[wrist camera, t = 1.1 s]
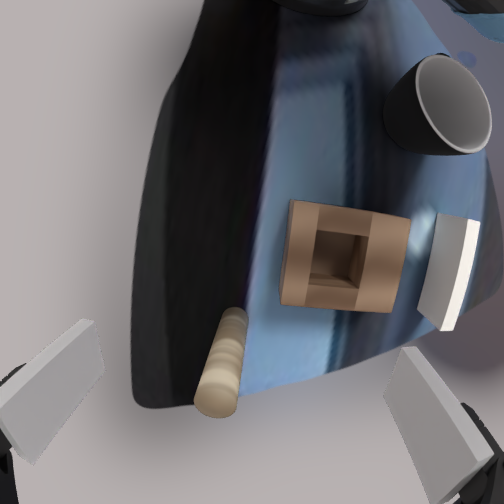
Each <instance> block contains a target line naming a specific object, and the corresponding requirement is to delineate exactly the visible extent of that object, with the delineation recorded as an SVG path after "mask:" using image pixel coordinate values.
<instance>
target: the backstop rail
mask: <svg viewBox="0 0 504 504" xmlns="http://www.w3.org/2000/svg"><path fill="white" fill-rule="evenodd" d="M479 226H480V222H477V221H474V220H470V219H466V218H461V217H457V216H452V215H447V214H442V213H437V220H436V227H435V233H434V238H433V244H432V249H431V254H430V259H429V264H428V268H427V272H426V277H425V281H424V285H423V289H422V292H421V296H420V300H419V303H418V307H417V310H418V311H419V312H420V313H421V314H422V315H423V316H425V317H426V318H427V319H428V320H429V321H430V322H431V323H432V324H433V325H434V326H435V327H437V328H438V329H439V330H440V331H453V328H454V326H455V323H456V320H457V317H458V314H459V311H460V308H461V305H462V301H463V298H464V294H465V291H466V287H467V284H468V280H469V276H470V272H471V268H472V263H473V259H474V254H475V249H476V244H477V238H478V232H479Z"/></svg>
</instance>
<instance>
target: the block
mask: <svg viewBox="0 0 504 504" xmlns="http://www.w3.org/2000/svg"><path fill="white" fill-rule="evenodd" d="M410 225H411V219H407V218H403V217H399V216H395V215H390V214H385V213H379V212H373V211H367V210H361V209H355V208H349V207H343V206H336V205H329V204H322V203H315V202H308V201H301V200H293V199H290V204H289V213H288V221H287V229H286V237H285V245H284V252H283V260H282V267H281V275H280V282H279V295H280V304H281V305H290V306H301V307H312V308H324V309H337V310H351V311H367V312H385V313H391V312H392V308H393V305H394V301H395V297H396V293H397V289H398V285H399V281H400V277H401V273H402V268H403V263H404V259H405V254H406V248H407V243H408V238H409V232H410Z"/></svg>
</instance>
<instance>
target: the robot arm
mask: <svg viewBox="0 0 504 504" xmlns="http://www.w3.org/2000/svg"><path fill="white" fill-rule="evenodd" d="M272 1H274V2H276V3H277V4H279V5H282V6H284V7H286V8H289V9H292V10H295V11H298V12H302V13H307V14H312V15H320V16H340V15H346V14H350V13H353V12H356V11H358V10H360V9H361V8H363V7H364V6H365V5H366V3H367V2H368V0H272ZM442 1H443V2H445V3H446V4H447V5H448V6H449V7H450V8H451V10H452V11H453V12H454V13H455V14H457V15H459V16H461V17H462V18H464V19H465V20H466V21H467V22H468V23H470V25H471V26H473V27H474V28H475V29H476V30H477V31H478V32H479V33H480V34H481V35H483V36H484V37H486V38H488V39H489V40H492V41H495V42H499V43H504V0H442ZM105 371H106V370H105V366H104V361H103V357H102V353H101V348H100V343H99V339H98V333H97V328H96V323H95V321H92V320H88V319H84V318H82V319H80V320H79V321H78V322H77V323H75V324H74V325H73V326H72V327H70V328H69V329H68V330H67V331H65V332H64V333H63V334H62V335H60V336H59V337H58V338H57V339H55V340H54V341H53V342H52V343H51V344H50V345H48V346H47V347H46V348H45V349H43V350H42V351H41V352H40V353H39V354H37V355H36V356H35V357H34V358H33V359H32V360H30V361H29V362H28V363H25V364H23V365H21V366H19V367H16V368H15V369H14V370H13V371H11V372H10V373H9V374H8V376H6V377H4V378H3V379H2V382H1V381H0V504H19V502H18V497H17V491H16V485H15V478H14V470H13V459H12V454H11V452H10V450H9V449H10V448H11V447H13V448H14V449H15V451H16V452H17V453H18V455H19V456H20V457H22V458H23V459H24V460H26V461H27V462H29V463H30V464H32V465H34V464H35V462H36V461H37V459H38V458H39V457H40V456H41V454H42V453H43V451H44V450H45V449H46V447H47V446H48V445H49V443H50V442H51V441H52V439H53V438H54V437H55V435H56V434H57V433H58V431H59V430H60V428H61V427H62V426H63V425H64V423H65V422H66V421H67V419H68V418H69V417H70V415H71V414H72V413H73V412H74V410H75V409H76V408H77V406H78V405H79V404H80V403H81V401H82V400H83V399H84V397H85V396H86V395H87V393H88V392H89V391H90V390H91V389H92V387H93V386H94V385H95V384H96V382H97V381H98V380H99V379H100V377H101V376H102V375H103V374H104V372H105ZM383 396H384V399H385V401H386V403H387V405H388V407H389V408H390V411H391V413H392V415H393V418H394V420H395V422H396V424H397V426H398V428H399V431H400V433H401V435H402V437H403V439H404V442H405V444H406V446H407V448H408V451H409V453H410V455H411V458H412V460H413V463H414V465H415V467H416V470H417V472H418V475H419V477H420V479H421V482H422V485H423V487H424V490H425V492H426V495H427V497H428V500H429V503H430V504H443V503H445V502H448V501H449V500H450V499H451V498H453V497H454V496H455V495H456V494H457V493H459V495H460V498H459V499H458V500H457V501H455V502H454V503H453V504H504V452H503V451H502V450H501V448H500V447H499V445H498V444H497V442H496V441H495V439H494V438H493V436H492V435H491V434H490V432H489V431H488V429H487V428H486V427H484V424H483V422H482V421H481V420H479V417H478V415H477V414H476V413H475V411H474V410H473V409H472V408H471V407H469V406H468V405H466V404H465V403H459V401H458V400H457V399H456V397H455V396H454V395H453V393H452V392H451V391H450V389H449V388H448V387H447V385H446V384H445V383H444V381H443V380H442V379H441V378H440V376H439V375H438V374H437V372H436V371H435V370H434V369H433V367H432V366H431V365H430V364H429V363H428V361H427V360H426V358H425V357H424V356H423V355H422V354H421V352H420V351H419V350H418V349H417V347H415V346H414V347H401V351H400V353H399V356H398V359H397V362H396V364H395V367H394V370H393V373H392V375H391V378H390V380H389V383H388V385H387V388H386V390H385V393H384V395H383Z"/></svg>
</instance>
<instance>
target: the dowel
mask: <svg viewBox="0 0 504 504" xmlns="http://www.w3.org/2000/svg"><path fill="white" fill-rule="evenodd" d="M248 320H249V319H248V315H247V313H246V312H245V311H244V310H243V309H241V308H238V307H231V308H228V309H227V310H225V311H224V313H223V315H222V318H221V321H220V323H219V326H218V329H217V332H216V335H215V338H214V341H213V344H212V347H211V350H210V353H209V356H208V359H207V362H206V365H205V368H204V370H203V373H202V376H201V379H200V382H199V385H198V388H197V391H196V394H195V397H194V404H195V406H196V408H197V409H198V410H199V411H200V412H201V413H203V414H204V415H206V416H209V417H212V418H225V417H228V416H231V415H232V414H233V413H234V412H235V410H236V407H237V400H238V393H239V385H240V378H241V371H242V364H243V357H244V350H245V342H246V335H247V328H248Z"/></svg>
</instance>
